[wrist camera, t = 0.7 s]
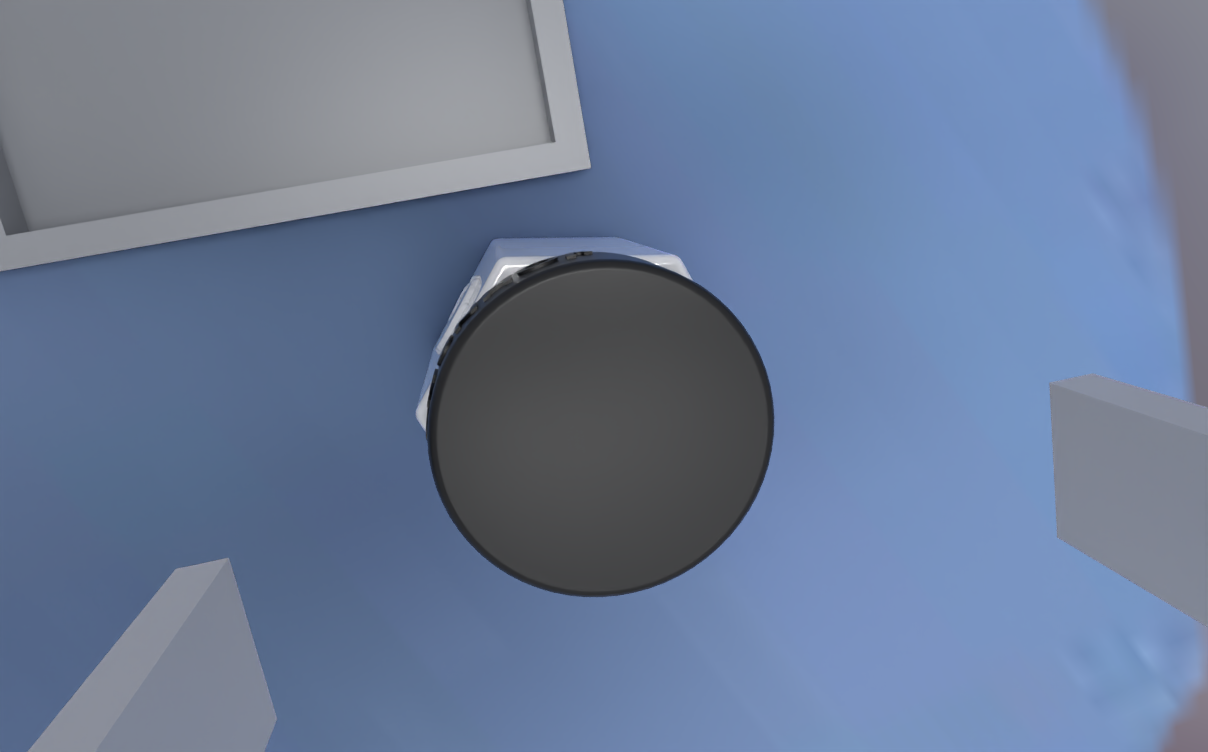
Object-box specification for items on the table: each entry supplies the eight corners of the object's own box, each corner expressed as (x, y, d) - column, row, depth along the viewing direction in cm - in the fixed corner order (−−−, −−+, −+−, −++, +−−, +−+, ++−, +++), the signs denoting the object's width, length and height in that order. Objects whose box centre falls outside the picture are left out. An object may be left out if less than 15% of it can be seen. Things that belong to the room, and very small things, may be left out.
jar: (518, 178, 30) (543, 169, 18) (712, 291, 31) (850, 349, 20) (398, 400, 31) (350, 526, 19) (593, 497, 32) (658, 666, 21)
